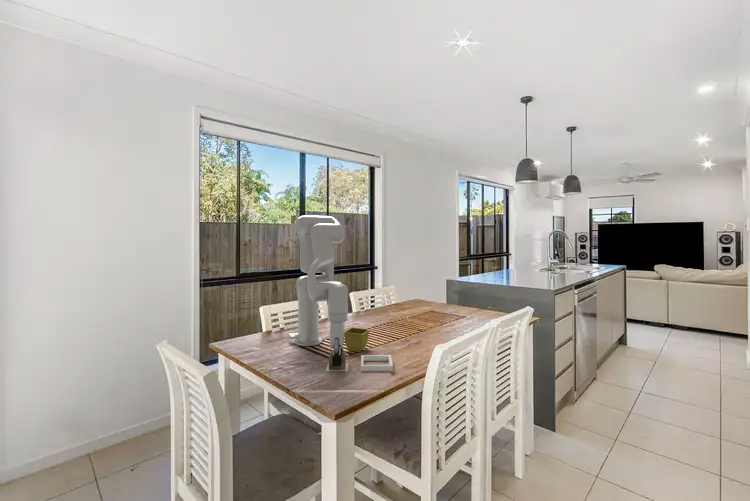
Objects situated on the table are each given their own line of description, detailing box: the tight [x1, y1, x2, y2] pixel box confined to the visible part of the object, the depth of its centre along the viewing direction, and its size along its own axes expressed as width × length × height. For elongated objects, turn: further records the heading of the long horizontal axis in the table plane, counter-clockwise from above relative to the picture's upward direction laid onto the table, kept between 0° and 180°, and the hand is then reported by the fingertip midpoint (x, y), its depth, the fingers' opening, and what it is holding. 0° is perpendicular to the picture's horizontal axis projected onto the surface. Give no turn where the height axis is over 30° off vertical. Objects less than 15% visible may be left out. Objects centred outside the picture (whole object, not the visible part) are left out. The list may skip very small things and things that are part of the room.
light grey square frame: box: [360, 354, 394, 373], centre depth 142 cm, size 12×12×2 cm
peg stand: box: [325, 349, 349, 372], centre depth 139 cm, size 8×8×7 cm
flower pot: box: [344, 327, 370, 353], centre depth 160 cm, size 9×9×9 cm
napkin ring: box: [328, 351, 347, 370], centre depth 139 cm, size 6×6×5 cm
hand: (337, 361), depth 139 cm, fingers open, 9 cm apart
